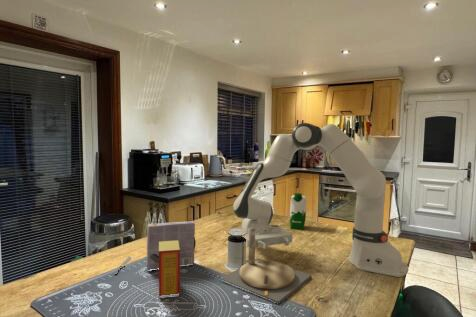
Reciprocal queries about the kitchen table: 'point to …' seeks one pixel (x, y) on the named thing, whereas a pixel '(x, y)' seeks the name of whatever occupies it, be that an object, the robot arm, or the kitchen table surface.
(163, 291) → the baking soda box
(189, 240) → the cake pan box
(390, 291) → the kitchen table surface
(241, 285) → the base plate
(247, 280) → the dial
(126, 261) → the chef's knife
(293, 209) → the milk carton
